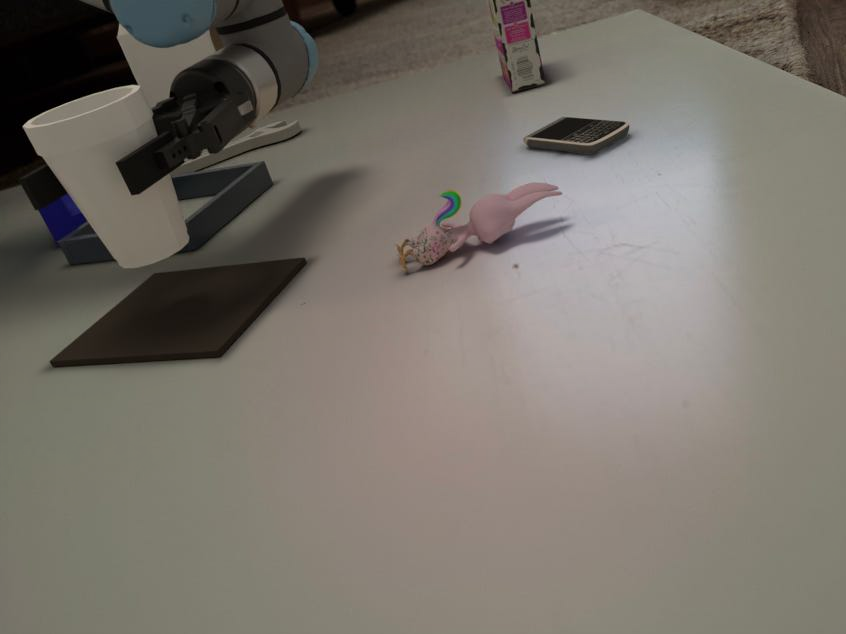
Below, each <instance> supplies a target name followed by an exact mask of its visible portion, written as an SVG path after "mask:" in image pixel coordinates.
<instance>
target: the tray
mask: <svg viewBox="0 0 846 634" xmlns="http://www.w3.org/2000/svg"><path fill="white" fill-rule="evenodd" d="M171 179H172V183H173V186H174V189H175V192H176V195H177V199H178V201H180V200H188V199H194V198H200V197H207V196H213V197H212V198H211V199H210V200H208V201H207V202H206V203H204V204H203V205H202V206H200V207H199V208H198V209H197V210H196V211H194V212H193V213H192V214H190V215H189V216H188V217H187V218H186V219H184V221H185V224H186V227H187V233H188V235H189V242H188V243H187V244H186V245H185V246H184V247H183V248H182V249H181V250H180V251H178V252H177V253H183V252H190V251H191V252H192V251H197V250H198V249H199V248H200V247H202V245H204V243H206V242H207V241H208V240H210V239H211V238H212V237H213V236H214V235H216V233H218V232H219V231H220V230H221V229H222V228H223V227H224V226H226V225H227V224H228V223H229V222H230V221H231V220H232V219H234V218H235V217H236V216H237V215H238V214H240V213H241V212H242V211H244V209H245V208H247V207H248V206H249V205H251V203H252V202H254V201H255V200H256V199H257V198H259V196H260V195H262V194H264V193H265V191H266V190H268V189H269V188H270V187H271V186H272V185H273V184H274V182H273V179H272V177H271V174H270V172H269V169H268V166H267V164H266V161H264V160H262V161H256V162H255V161H254V162H250V163H248V162H247V163H243V164H235V165H230V166H223V167H218V168H211V169H205V170H197V171H194V172H192V173H185V174H179V175H173V176H171ZM58 244H59V246H60V247H59V248H60V249H61V251H62V253H63V255H64V257H65V258H66V260H67V262H68V264H69V265H70V266H71V265H81V264H88V263H99V262H106V261H116V260H115V259H114V258H113V256H112V255H111V253H110V252H109V250H108V249H107V248H106V246H105V245H104V243H103V242H102V241H101V239H100V238H99V236H98V235H97V233H96V232H95V231H94V229H93V228H92V226H91V225H90V224H89V222H88V221H87V222H86V223H84V224H83V225H81V226H80V227H78V228H77V229H75V230H74V231H72V232H71V233H69V234H68V235H66V236H65V237H64V238H62V239H61V240H59V241H58Z"/></svg>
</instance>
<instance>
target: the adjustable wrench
mask: <svg viewBox="0 0 846 634" xmlns="http://www.w3.org/2000/svg"><path fill="white" fill-rule="evenodd" d="M301 131H302V128H301V125H300V123H299V120H297V119H296V120H294V121H292V122H289V123H288V124H287V122H286V120H285V119H284V120H283V119H282V120H278V121H276V122H272V123H269V124H267V125H264V126H262V127H258V128H257V127H256V129H255V130H254V131H252V132H251V133H249V134H247V135H246V136H244V137H242V138H239V139H237V140H234V141H230V142H229V143H228V144H227V145H226V146H225V147H224V148H223V149H222V150H221V151H219V153H216V154H214V153H213V154H209V152H208V151H205V152H202V154H201V155H200V157H198V158H196V159H193V160H192V159H189V160H188V159H187V158H186V159H184V161H185V163H183V164H182V165H181V166H179V167H178V168H176V169H175V170H173V171H172V172H171V173H170V176H173V175H179V174H185V173H192V172H198V171H200V170H201V169H204V168H206V167H209V166H212V165H214V164H217V163H219V162H223V161H224V160H227V159H230V158H232V157H234V156H237V155H240V154H242V153H245V152H248V151H251V150H253V149H256V148H260V147H263V146H267V145H271V144H274V143H279V142H282V141H285V140H288V139H290V138H292V137H294V136H295V135H297V134H299V133H300V132H301Z"/></svg>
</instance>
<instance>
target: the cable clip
mask: <svg viewBox="0 0 846 634" xmlns="http://www.w3.org/2000/svg"><path fill="white" fill-rule="evenodd" d="M37 211H38V213H39V214H40V216H41V218H42V220H43V222H44V224H45V225H46V227H47V229H48V231H49V233H50V234H51V236H52V238H53V239H54V242H55V243H56V245H57V247H58V248H60V246H59V244H58V241H59V240H61V239H62V238H64V237H65V236H66V235H68V234H69V233H71V232H72V231H74V230H75V229H77V228H78V227H80V226H81V225H83V224H84V223H86V222H87V219H86V218H85V217H84V215H83V214H82V212H81V211H80V209H79V208H78V207H77V205H76V204H75V202H74V201H73V200H72V198H71V197H70V195H69V194H68V193H67V194H66V195H64V196H63V197H61V198H59V199H58V200H56V201H55V202H53V203H51V204H50V205H48V206H47V207H45V208H43V209H41V210H37Z"/></svg>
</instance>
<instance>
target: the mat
mask: <svg viewBox="0 0 846 634" xmlns="http://www.w3.org/2000/svg"><path fill="white" fill-rule="evenodd" d="M306 264H307V260H306V257H305V256H301V257H295V258H293V257H292V258H284V259H275V260H266V261H256V262H247V263H237V264H230V265H227V264H226V265H218V266H211V267H209V266H208V267H200V268H193V269H192V268H191V269H182V270H181V269H180V270H172V271H164V272H154V273H153V274H151V275H150V276H149V277H148V278H146V279H145V280H144V281H143V282H142V283H140V284H139V285H138V286H137V287H136V288H134V289H133V290H132V291H131V292H130V293H129V294H128V295H126V296H125V297H124V298H122V300H121V301H119V302H118V303H117V304H115V305H114V307H112V308H111V309H110V310H109V311H108V312H106V313H105V314H103V316H102V317H100V318H99V319H98V320H97V321H95V322H94V323H93V324H92V325H90V327H88V328H87V329H86V330H85V331H84V332H83V333H81V334H80V335H79V336H78V337H76V338H75V339H73V341H72V342H71V343H70V344H68V345H67V346H66V347H64V348H63V349H62V350H61V351H60V352H58V353H57V354H56V355H55V356H54V357H52V358H51V359H50V360H49V364H50V365H51V366H52V368H53V367H55V368H56V367H69V366H70V367H71V366H72V367H73V366H87V365H88V366H89V365H101V364H102V365H103V364H104V365H105V364H121V363H122V364H123V363H136V362H153V361H154V362H155V361H169V360H172V361H173V360H186V359H202V358H204V359H205V358H220V357H222V355H224V354H225V352H226V351H227V350H228V349H229V348H230V347H231V346H232V344H233V343H234V342H235V341H236V340H238V338H239V337H240V336H241V335H242V334H243V333H244V332H245V330H246V329H247V328H248V327H249V326H250V325H251V324H252V323H253V322H254V321H255V320H256V318H258V316H259V315H260V314H261V313H262V312H263V311H264V310H265V308H267V307H268V305H269V304H270V303H271V302H272V301H273V300H274V299H275V298H276V296H278V295H279V293H281V291H282V290H283V289H284V288H285V287H286V286H287V285H288V284H289V283H290V282H291V280H292V279H293V278H294V277H295V276H296V275H297V274H298V273H299V272H300V270H302V269H303V267H304V266H306Z"/></svg>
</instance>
